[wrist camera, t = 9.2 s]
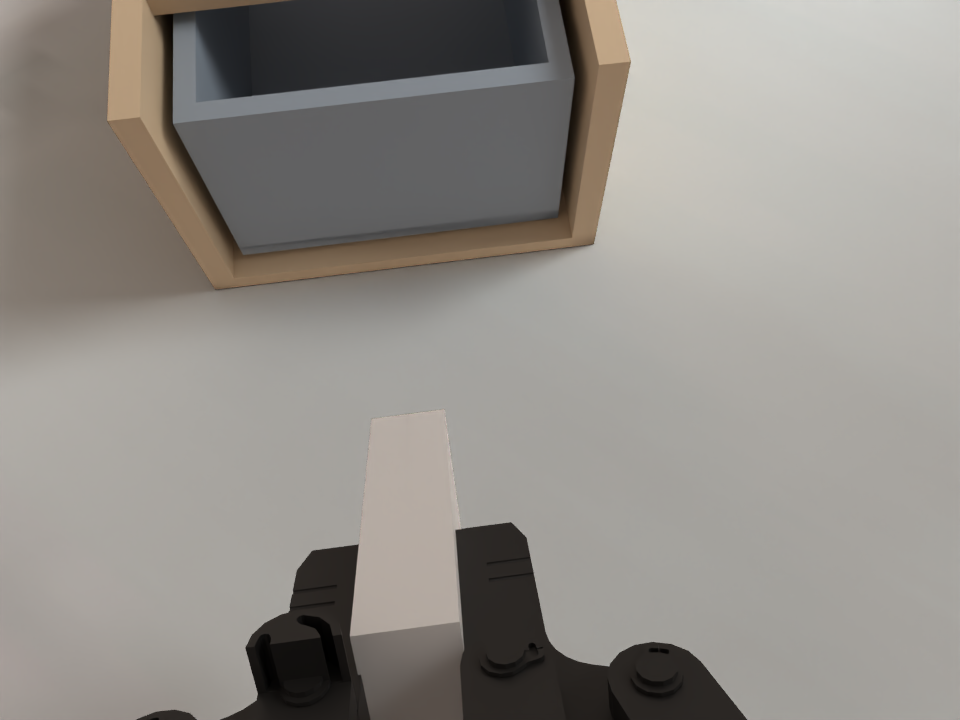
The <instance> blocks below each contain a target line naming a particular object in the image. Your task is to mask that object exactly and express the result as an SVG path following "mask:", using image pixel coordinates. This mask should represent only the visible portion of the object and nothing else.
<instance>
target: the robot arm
mask: <svg viewBox="0 0 960 720" xmlns="http://www.w3.org/2000/svg"><path fill="white" fill-rule="evenodd" d="M246 651H247V655H248V659H249V662H250V666H251V670H252V674H253V677H254V681H255V685H256V688H257V692H258V696H257V701H255V702H254V703H252V704H251V705H249V706H248V707H246V708H245V709H244V710H241V711H239V712H237V713H235V714H233V715H231V716H229V717H226V718H223V719H221V720H747V719H746V718H745V716H744V715H743V714H742V713H741V711H740V710H739V709H738V708H737V706H736V705H735V704H734V703H733V701H732V700H731V699H730V698H729V696H728V695H727V694H726V693H725V691H724V690H723V689H722V688H721V686H720V685H719V684H718V683H717V681H716V680H715V679H714V678H713V676H712V675H711V674H710V673H709V671H708V670H707V669H706V668H705V666H704V665H703V664H702V663H701V661H699V660H698V659H697V658H696V657H695V656H693V655H692V654H691V653H690V652H689V651H687V650H685V649H682V648H680V647H677V646H675V645H672V644H665V643H656V642H650V643H644V644H638V645H634V646H632V647H630V648H628V649H626V650H624V651H622V652H620V653H619V654H618V655H617V656H616V658H615V659H614V660H613V661H612V662H611V663H610V667H608V666H599V665H591V664H587V663H582V662H578V661H575V660H573V659H570V658H568V657H566V656H564V655H563V654H561V653H560V652H559V651H557V650H556V649H555V648H554V647H553V645H552V644H551V643H550V642H549V640H548V637H547V635H546V632H545V628H544V623H543V618H542V613H541V608H540V603H539V598H538V593H537V588H536V583H535V578H534V573H533V568H532V563H531V559H530V553H529V548H528V543H527V538H526V537H525V536H524V535H523V534H522V533H521V532H520V531H519V530H518V529H517V528H516V527H515V526H514V525H513V524H512V523H511V522H510V523H503V524H495V525H488V526H480V527H473V528H465V529H461V523H460V515H459V508H458V501H457V494H456V487H455V480H454V473H453V466H452V459H451V452H450V445H449V437H448V430H447V423H446V416H445V409H442V410H434V411H426V412H419V413H411V414H403V415H395V416H388V417H380V418H372V419H371V427H370V437H369V447H368V457H367V467H366V478H365V488H364V498H363V508H362V518H361V528H360V538H359V545H352V546H344V547H337V548H329V549H322V550H314V551H312V552H311V553H310V554H309V556H308V557H307V558H306V560H305V561H304V562H303V563H302V565H301V566H300V567H299V568H298V570H297V573H296V578H295V583H294V588H293V594H292V598H291V603H290V611H289V613H286V614H282V615H280V616H278V617H276V618H274V619H272V620H270V621H268V622H266V623H264V624H263V625H262V626H261V627H260V628H259V629H258V630H257V631H256V632H255V633H254V634H252V636H251V638H250V640H249V642H248V644H247V646H246ZM137 720H197V719H195V718H194V717H193V716H192V715H191V714H190V713H186V712H182V711H178V710H168V711H159V712H155V713H152V714H149V715H147V716H144V717H141V718H139V719H137Z"/></svg>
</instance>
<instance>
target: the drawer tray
mask: <svg viewBox="0 0 960 720" xmlns="http://www.w3.org/2000/svg"><path fill="white" fill-rule="evenodd" d="M574 81H575V76H574V71H573V66H572V62H571V57H570V52H569V47H568V43H567V38H566V33H565V28H564V24H563V19H562V14H561V9H560V4H559V0H292V1H283V2H273V3H264V4H255V5H246V6H237V7H228V8H219V9H210V10H201V11H192V12H182V13H173V125H174V127H175V129H176V130H177V132H178V134H179V136H180V138H181V140H182V142H183V144H184V145H185V147H186V149H187V151H188V153H189V155H190V157H191V159H192V160H193V162H194V164H195V166H196V168H197V170H198V172H199V173H200V175H201V177H202V179H203V181H204V183H205V185H206V187H207V188H208V190H209V192H210V194H211V196H212V198H213V200H214V201H215V203H216V205H217V207H218V209H219V211H220V213H221V215H222V216H223V218H224V220H225V222H226V224H227V226H228V228H229V229H230V231H231V233H232V235H233V237H234V239H235V241H236V243H237V244H238V246H239V248H240V250H241V252H242V254H243V255H248V254H257V253H265V252H274V251H282V250H290V249H299V248H307V247H316V246H324V245H332V244H341V243H349V242H357V241H366V240H374V239H383V238H391V237H399V236H408V235H416V234H425V233H433V232H441V231H450V230H458V229H467V228H475V227H483V226H492V225H500V224H509V223H517V222H525V221H534V220H542V219H550V218H558V212H559V204H560V196H561V188H562V179H563V171H564V163H565V155H566V147H567V138H568V130H569V122H570V114H571V106H572V97H573V89H574Z"/></svg>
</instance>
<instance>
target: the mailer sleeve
mask: <svg viewBox="0 0 960 720" xmlns="http://www.w3.org/2000/svg"><path fill="white" fill-rule="evenodd" d="M283 1H292V0H112V11H111V36H110V61H109V86H108V112H107V122H108V123H109V125H110V126H111V128H112V129H113V131H114V132H115V134H116V136H117V137H118V139H119V140H120V142H121V143H122V145H123V146H124V148H125V150H126V151H127V153H128V154H129V156H130V157H131V159H132V161H133V162H134V164H135V165H136V167H137V168H138V170H139V171H140V173H141V175H142V176H143V178H144V179H145V181H146V182H147V184H148V185H149V187H150V189H151V190H152V192H153V193H154V195H155V196H156V198H157V200H158V201H159V203H160V204H161V206H162V207H163V209H164V210H165V212H166V214H167V215H168V217H169V218H170V220H171V221H172V223H173V224H174V226H175V228H176V229H177V231H178V232H179V234H180V235H181V237H182V238H183V240H184V242H185V243H186V245H187V246H188V248H189V249H190V251H191V253H192V254H193V256H194V257H195V259H196V260H197V262H198V263H199V265H200V267H201V268H202V270H203V271H204V273H205V274H206V276H207V277H208V279H209V281H210V282H211V284H212V285H213V287H214V288H215V290H216V289H224V288H233V287H241V286H249V285H258V284H266V283H274V282H282V281H291V280H299V279H307V278H316V277H324V276H332V275H341V274H349V273H357V272H366V271H374V270H382V269H391V268H399V267H407V266H415V265H424V264H432V263H440V262H449V261H457V260H465V259H474V258H482V257H490V256H499V255H507V254H515V253H523V252H532V251H540V250H548V249H557V248H565V247H573V246H582V245H590V244H594V240H595V235H596V231H597V226H598V221H599V216H600V211H601V206H602V201H603V196H604V191H605V186H606V181H607V176H608V171H609V167H610V162H611V157H612V152H613V147H614V142H615V137H616V132H617V127H618V122H619V117H620V112H621V107H622V102H623V98H624V93H625V88H626V83H627V78H628V73H629V68H630V63H631V60H630V56H629V52H628V48H627V44H626V39H625V35H624V31H623V27H622V23H621V19H620V15H619V10H618V6H617V2H616V0H559V4H560V9H561V14H562V19H563V24H564V28H565V33H566V38H567V43H568V47H569V52H570V57H571V62H572V66H573V71H574V76H575V81H574V89H573V97H572V106H571V114H570V122H569V130H568V138H567V147H566V155H565V163H564V171H563V179H562V188H561V196H560V204H559V212H558V218H550V219H542V220H534V221H525V222H517V223H509V224H500V225H492V226H483V227H475V228H467V229H458V230H450V231H441V232H433V233H425V234H416V235H408V236H399V237H391V238H383V239H374V240H366V241H357V242H349V243H341V244H332V245H324V246H316V247H307V248H299V249H290V250H282V251H274V252H265V253H257V254H248V255H243V254H242V252H241V250H240V248H239V246H238V244H237V243H236V241H235V239H234V237H233V235H232V233H231V231H230V229H229V228H228V226H227V224H226V222H225V220H224V218H223V216H222V215H221V213H220V211H219V209H218V207H217V205H216V203H215V201H214V200H213V198H212V196H211V194H210V192H209V190H208V188H207V187H206V185H205V183H204V181H203V179H202V177H201V175H200V173H199V172H198V170H197V168H196V166H195V164H194V162H193V160H192V159H191V157H190V155H189V153H188V151H187V149H186V147H185V145H184V144H183V142H182V140H181V138H180V136H179V134H178V132H177V130H176V129H175V127H174V125H173V13H182V12H192V11H201V10H210V9H219V8H228V7H237V6H246V5H255V4H264V3H273V2H283Z"/></svg>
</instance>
